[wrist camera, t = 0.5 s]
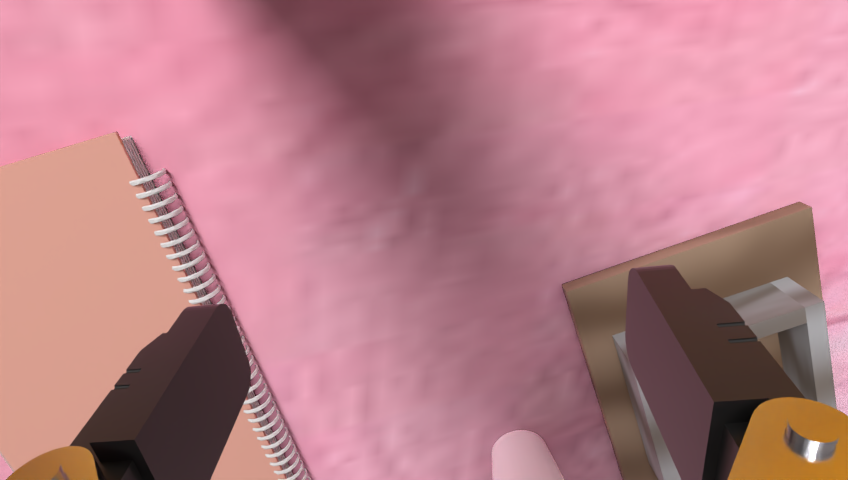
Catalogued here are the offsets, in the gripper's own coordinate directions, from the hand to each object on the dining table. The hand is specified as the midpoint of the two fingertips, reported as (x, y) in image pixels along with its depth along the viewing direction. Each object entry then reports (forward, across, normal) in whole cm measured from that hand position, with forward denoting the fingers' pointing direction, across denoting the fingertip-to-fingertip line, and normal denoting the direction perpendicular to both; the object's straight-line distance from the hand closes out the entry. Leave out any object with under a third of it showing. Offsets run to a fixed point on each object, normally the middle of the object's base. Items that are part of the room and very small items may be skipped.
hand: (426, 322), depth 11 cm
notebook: (+17, +21, +14) cm, 31 cm away
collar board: (+19, -15, +19) cm, 31 cm away
